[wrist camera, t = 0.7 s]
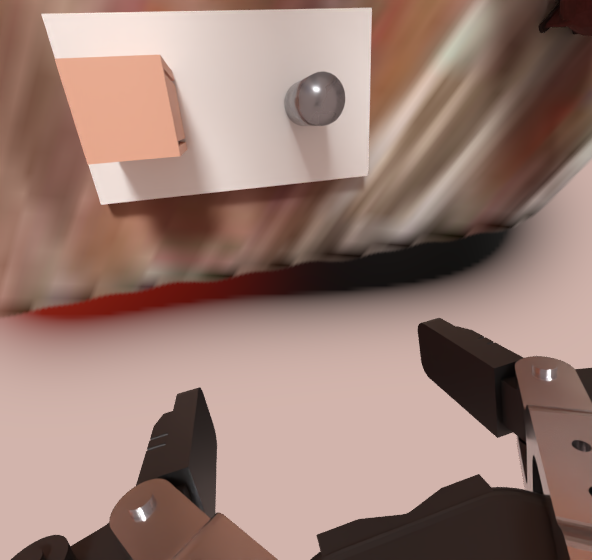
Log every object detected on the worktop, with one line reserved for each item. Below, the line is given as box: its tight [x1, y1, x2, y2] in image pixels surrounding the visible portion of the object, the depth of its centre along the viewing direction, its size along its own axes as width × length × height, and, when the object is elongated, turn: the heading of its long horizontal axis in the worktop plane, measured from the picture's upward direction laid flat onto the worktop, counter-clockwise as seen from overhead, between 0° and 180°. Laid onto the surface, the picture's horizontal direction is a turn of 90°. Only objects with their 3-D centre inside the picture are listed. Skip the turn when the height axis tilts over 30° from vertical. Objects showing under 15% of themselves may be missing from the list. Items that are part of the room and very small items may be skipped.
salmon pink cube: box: [55, 55, 187, 164], centre depth 24 cm, size 6×6×7 cm
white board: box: [42, 8, 372, 205], centre depth 29 cm, size 24×13×2 cm, turn 94°
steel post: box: [284, 71, 345, 126], centre depth 26 cm, size 3×3×6 cm
